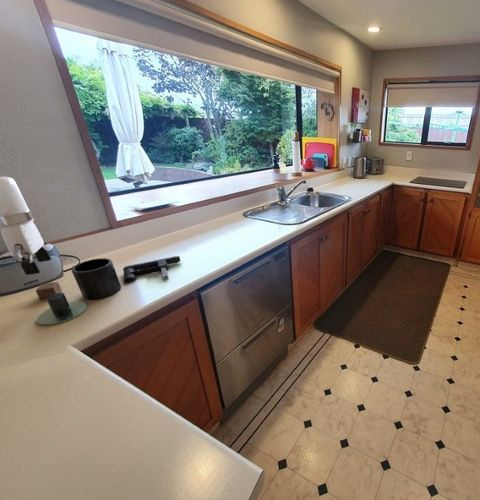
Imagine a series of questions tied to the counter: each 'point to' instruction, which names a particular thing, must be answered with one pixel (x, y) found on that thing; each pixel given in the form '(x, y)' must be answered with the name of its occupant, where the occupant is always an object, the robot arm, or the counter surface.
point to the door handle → (149, 268)
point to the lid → (60, 310)
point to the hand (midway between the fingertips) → (39, 267)
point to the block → (48, 290)
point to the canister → (96, 279)
